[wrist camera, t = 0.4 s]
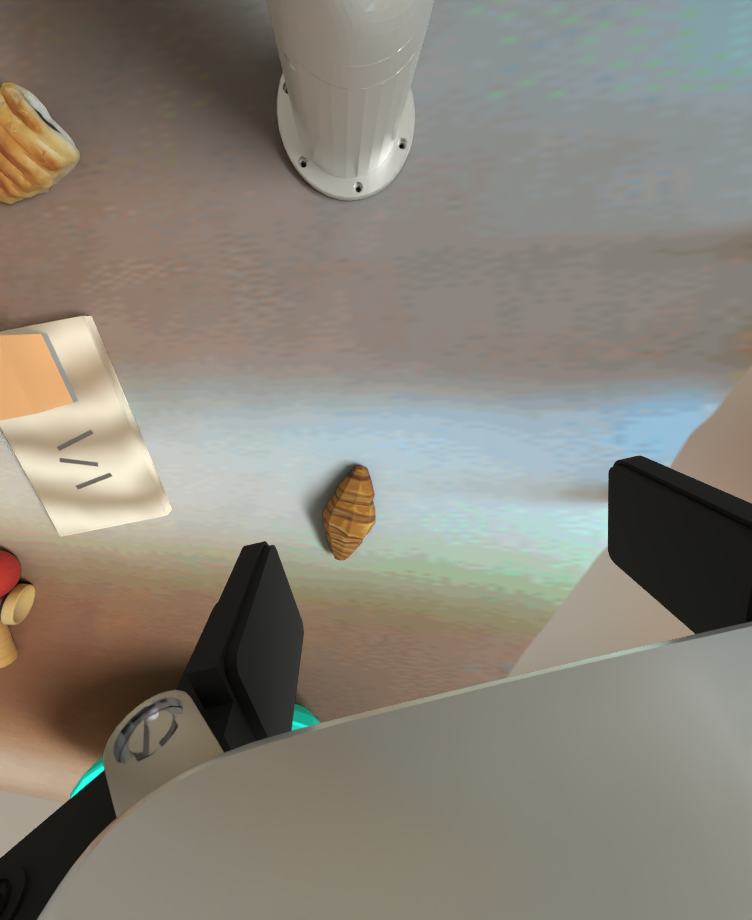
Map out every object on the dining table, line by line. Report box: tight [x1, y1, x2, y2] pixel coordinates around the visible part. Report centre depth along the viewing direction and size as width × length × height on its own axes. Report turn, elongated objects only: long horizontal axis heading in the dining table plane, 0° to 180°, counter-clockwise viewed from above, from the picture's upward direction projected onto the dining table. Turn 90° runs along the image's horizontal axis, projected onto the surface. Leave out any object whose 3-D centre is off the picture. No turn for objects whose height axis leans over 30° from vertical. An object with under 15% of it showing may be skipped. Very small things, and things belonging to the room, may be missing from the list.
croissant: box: [323, 466, 375, 560], centre depth 47 cm, size 14×7×5 cm, turn 166°
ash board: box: [0, 316, 172, 536], centre depth 42 cm, size 23×13×2 cm, turn 10°
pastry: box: [0, 82, 80, 204], centre depth 33 cm, size 9×7×4 cm
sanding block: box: [0, 334, 78, 421], centre depth 36 cm, size 7×5×6 cm
